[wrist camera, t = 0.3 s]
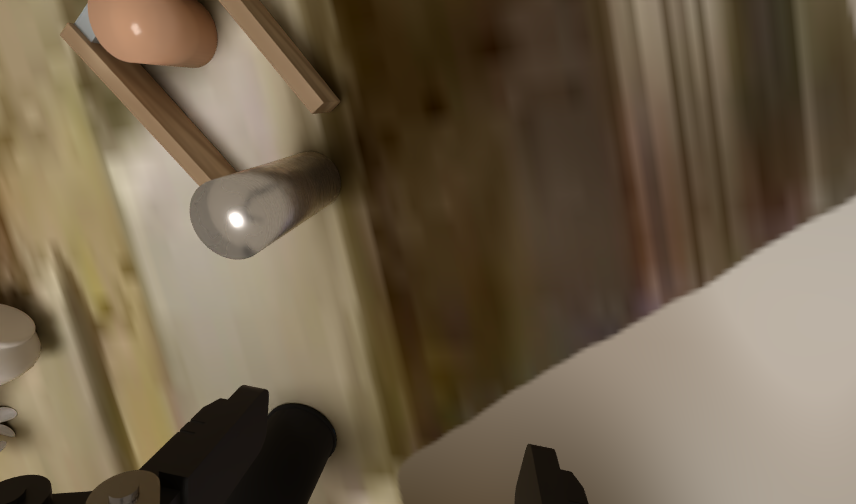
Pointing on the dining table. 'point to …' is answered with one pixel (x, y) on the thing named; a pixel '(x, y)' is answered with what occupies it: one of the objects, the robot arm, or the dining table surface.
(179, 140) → the channel
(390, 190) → the dining table surface
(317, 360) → the dining table surface
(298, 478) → the aerosol can
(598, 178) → the dining table surface
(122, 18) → the cylinder
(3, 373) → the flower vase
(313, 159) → the shaft
